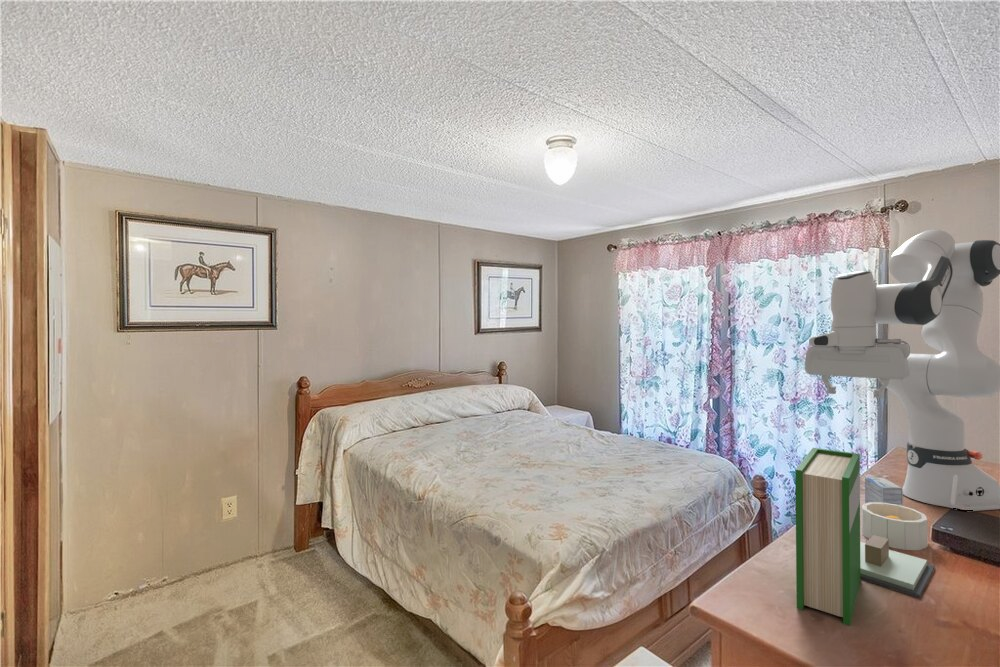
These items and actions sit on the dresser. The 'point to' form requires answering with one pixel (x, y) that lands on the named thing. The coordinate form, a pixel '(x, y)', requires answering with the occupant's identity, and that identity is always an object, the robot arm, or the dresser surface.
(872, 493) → the medicine box
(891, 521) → the bowl
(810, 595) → the hardback book
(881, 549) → the lid
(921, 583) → the mat
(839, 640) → the dresser surface
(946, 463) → the robot arm
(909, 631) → the dresser surface
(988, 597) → the dresser surface
